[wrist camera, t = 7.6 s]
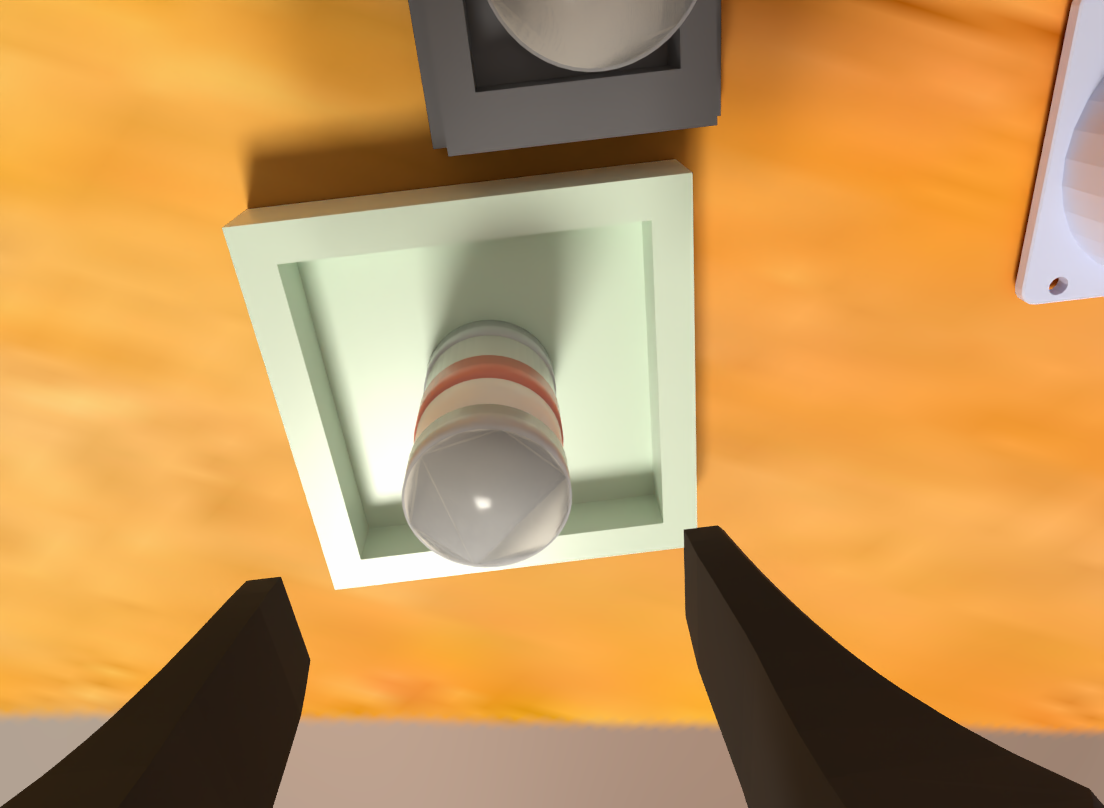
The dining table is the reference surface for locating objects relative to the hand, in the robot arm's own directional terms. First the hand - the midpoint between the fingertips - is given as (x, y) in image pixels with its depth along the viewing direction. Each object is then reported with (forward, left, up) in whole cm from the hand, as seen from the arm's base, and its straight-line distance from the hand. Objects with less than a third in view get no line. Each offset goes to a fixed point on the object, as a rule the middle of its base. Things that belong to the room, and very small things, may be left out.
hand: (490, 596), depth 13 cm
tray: (0, 0, -9) cm, 9 cm away
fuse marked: (0, 0, -9) cm, 9 cm away
